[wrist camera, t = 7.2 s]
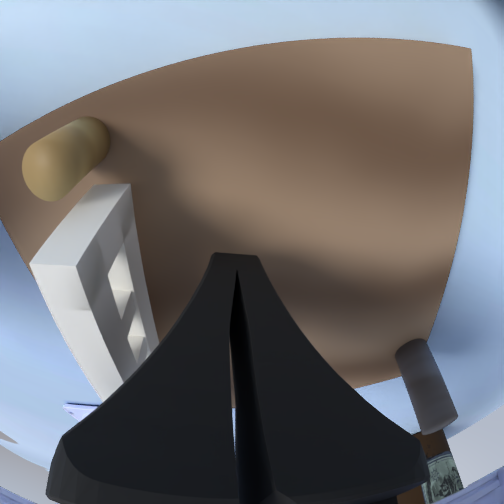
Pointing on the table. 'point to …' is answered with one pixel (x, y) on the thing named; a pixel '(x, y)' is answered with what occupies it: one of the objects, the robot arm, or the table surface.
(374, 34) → the table surface
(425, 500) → the olive oil
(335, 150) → the board
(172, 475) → the robot arm
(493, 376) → the table surface
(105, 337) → the gate
